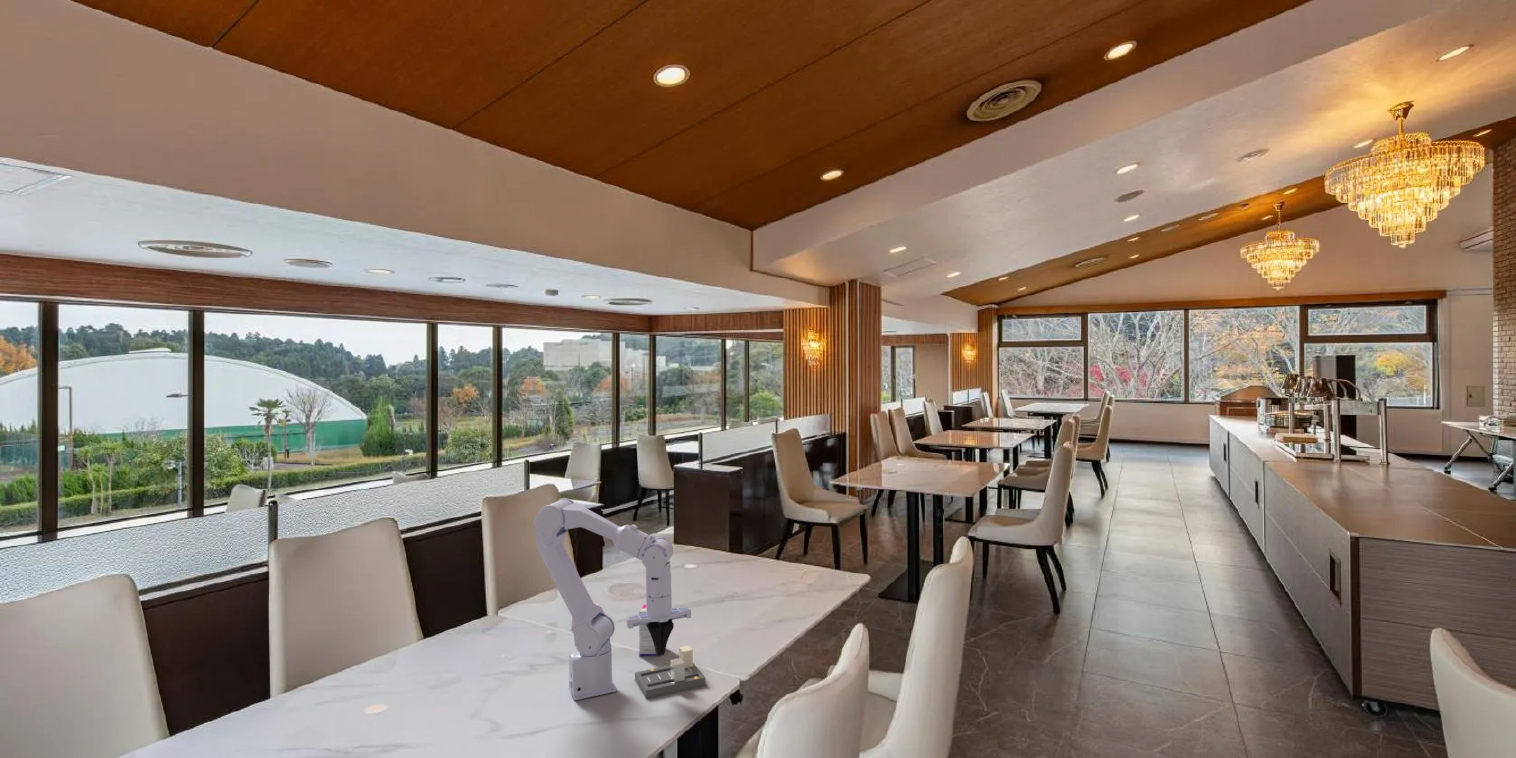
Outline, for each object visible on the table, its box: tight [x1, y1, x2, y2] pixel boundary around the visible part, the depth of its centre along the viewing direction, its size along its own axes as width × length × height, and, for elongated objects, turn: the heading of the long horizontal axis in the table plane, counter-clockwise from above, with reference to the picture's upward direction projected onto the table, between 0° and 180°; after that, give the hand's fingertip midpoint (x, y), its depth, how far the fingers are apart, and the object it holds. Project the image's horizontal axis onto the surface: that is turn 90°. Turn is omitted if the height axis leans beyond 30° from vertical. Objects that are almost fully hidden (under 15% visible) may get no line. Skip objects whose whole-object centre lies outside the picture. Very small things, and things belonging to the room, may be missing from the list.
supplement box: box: [638, 604, 658, 657], centre depth 169 cm, size 6×6×12 cm
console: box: [634, 662, 707, 700], centre depth 152 cm, size 14×10×2 cm
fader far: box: [678, 645, 694, 668], centre depth 157 cm, size 2×3×5 cm
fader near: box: [669, 657, 685, 683], centre depth 149 cm, size 2×3×5 cm
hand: (660, 653), depth 148 cm, fingers closed
